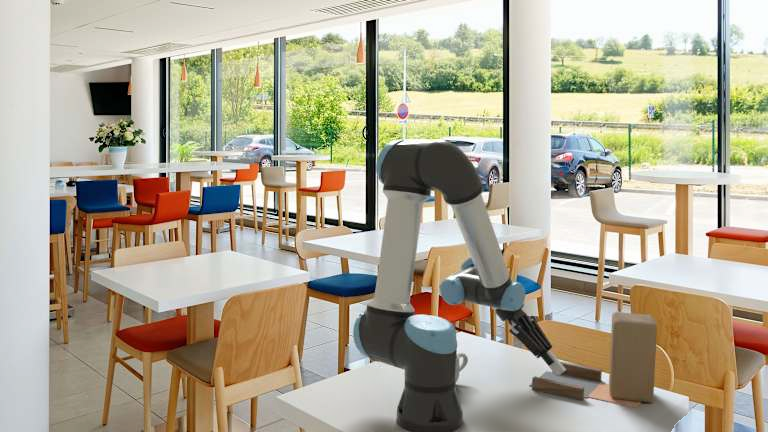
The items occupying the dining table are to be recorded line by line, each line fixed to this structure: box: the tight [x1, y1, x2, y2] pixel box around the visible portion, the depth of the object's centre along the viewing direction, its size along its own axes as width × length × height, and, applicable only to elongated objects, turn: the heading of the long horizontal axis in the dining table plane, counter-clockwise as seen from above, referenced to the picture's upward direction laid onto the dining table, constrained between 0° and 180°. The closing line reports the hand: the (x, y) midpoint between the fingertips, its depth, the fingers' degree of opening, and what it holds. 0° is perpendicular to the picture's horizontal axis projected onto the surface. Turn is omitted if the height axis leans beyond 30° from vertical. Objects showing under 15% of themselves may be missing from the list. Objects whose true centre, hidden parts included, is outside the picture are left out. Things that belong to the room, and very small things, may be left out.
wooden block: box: [608, 311, 658, 403], centre depth 167 cm, size 10×10×20 cm
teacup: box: [456, 352, 469, 383], centre depth 174 cm, size 14×11×8 cm
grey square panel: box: [528, 370, 602, 399], centre depth 175 cm, size 13×15×1 cm
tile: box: [587, 382, 643, 409], centre depth 168 cm, size 11×12×1 cm
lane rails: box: [531, 361, 603, 401], centre depth 175 cm, size 17×13×3 cm
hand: (561, 373), depth 175 cm, fingers closed
